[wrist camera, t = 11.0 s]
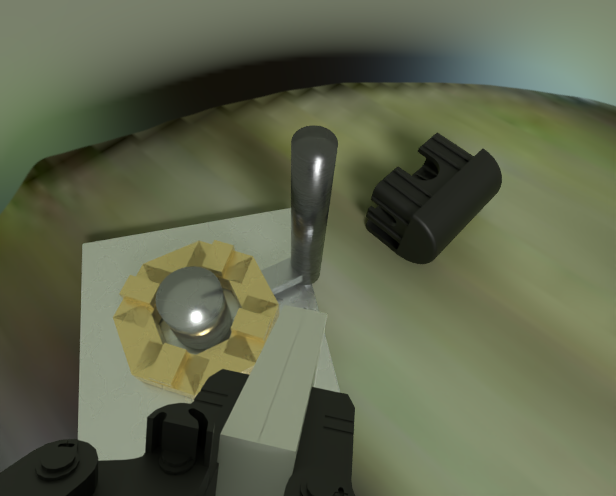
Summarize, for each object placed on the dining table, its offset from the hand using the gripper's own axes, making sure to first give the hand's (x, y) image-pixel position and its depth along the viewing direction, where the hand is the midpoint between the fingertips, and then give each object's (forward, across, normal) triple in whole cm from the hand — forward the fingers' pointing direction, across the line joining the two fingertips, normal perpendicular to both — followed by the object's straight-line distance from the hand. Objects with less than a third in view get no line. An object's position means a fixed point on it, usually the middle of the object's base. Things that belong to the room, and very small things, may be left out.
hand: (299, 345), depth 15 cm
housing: (+17, +9, +9) cm, 21 cm away
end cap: (+28, -8, 0) cm, 29 cm away
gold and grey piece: (+17, +7, +7) cm, 20 cm away
